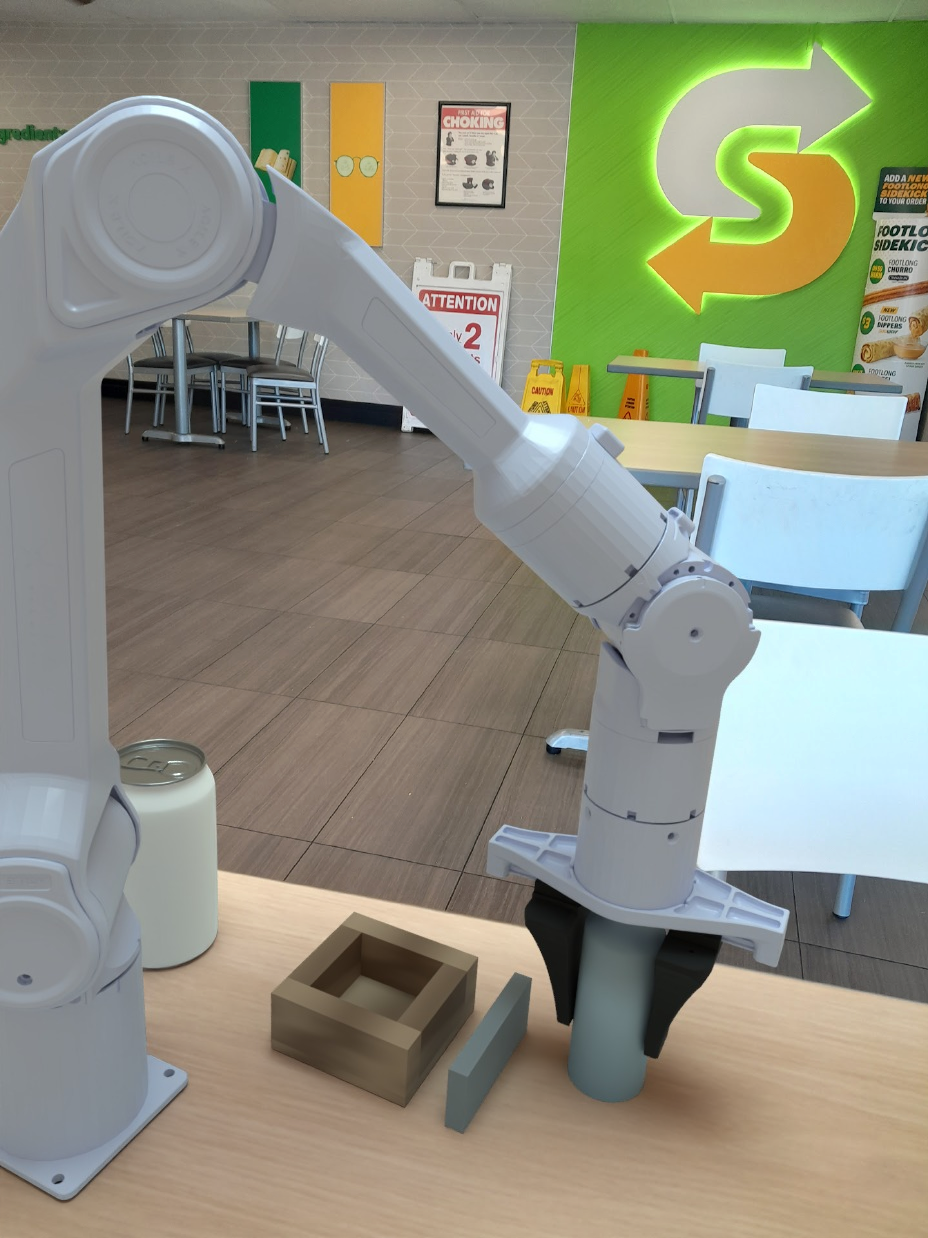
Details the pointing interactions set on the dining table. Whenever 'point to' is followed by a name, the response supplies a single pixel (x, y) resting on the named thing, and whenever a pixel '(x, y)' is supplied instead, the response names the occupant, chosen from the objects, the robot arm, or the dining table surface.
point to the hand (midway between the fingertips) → (611, 1028)
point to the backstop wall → (487, 1053)
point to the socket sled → (374, 1006)
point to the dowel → (613, 1008)
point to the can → (172, 849)
